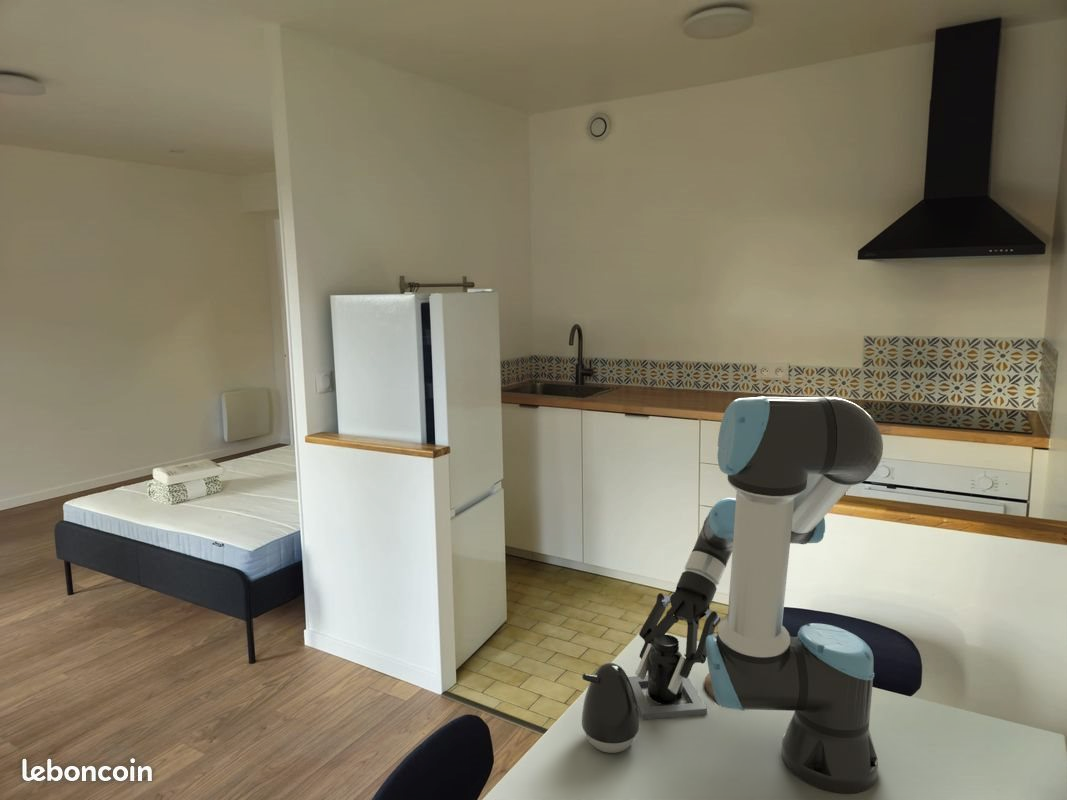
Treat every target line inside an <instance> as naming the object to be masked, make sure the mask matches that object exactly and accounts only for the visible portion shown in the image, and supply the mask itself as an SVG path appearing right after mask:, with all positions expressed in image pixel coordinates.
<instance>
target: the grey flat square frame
mask: <svg viewBox="0 0 1067 800" xmlns="http://www.w3.org/2000/svg"><path fill="white" fill-rule="evenodd" d="M628 678H629V681H630V683H631V686H632V688H633V691H634V694H635V698H636V702H637V708H638V714H639V715H640V718H641V719H642V721H644V720H646V721H647V720H653V719H654V720H655V719H656V720H657V719H666V718H669V719H670V718H677V717H690V716H702V715H704V716H705V715H708V708H707V706H706V704H705V703H704V701H703V700H702V698H701V696H700V695H699V693H698V691H697V690H696V688H695V686H694V684H693V683H692V682H691V680H690V678H689V676H688V677H687V678H684V677H683V689H682V693H683V694H684V696H685V697H686V699H687V700H688V702H689V703H681V704H679V703H677V704H673V705H656V706H651V705H650V704H649V702H648V700H647V697H646V695H645V694H644V691H643V689H642V687H643V688H644V687H648V674H646V676H645V678H644V680H642V679H640V678H639V677H638V676H637V675H635V676H628Z"/></svg>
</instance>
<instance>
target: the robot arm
mask: <svg viewBox="0 0 1067 800" xmlns="http://www.w3.org/2000/svg"><path fill="white" fill-rule="evenodd" d="M719 427H720V428H719V432H718V439H717V447H718V448H717V449H718V450H717V461H718V462H717V463H718V467H719V470H720V471H721V472H722V473H723V474H726V475H727V482H728V484H729V485H730V486H731V487H732V488H733V489H734V490H735V491H736V496H735V497H736V498H735V497H726V498H722V499H720V500H718V501H717V502H716V503H715V504H714V505H713V506H712V507H711V509H710V511H709V512H708V514H707V516H706V517H705V520H704V521H703V522H704V523H702V524H703V525H702V528H700V532H699V535H698V537H697V539H696V542H695V544H694V547H693V549H692V551H691V553H690V555H689V557H688V559H687V562H686V563H685V566H684V571H682V572H681V575H680V577H679V578H678V579H679V580H678V582H677V584H676V588H675V591H674V592H673V593H672V594H671V595H664V594H663V593H661V592H660V593H658V594H657V596H656V602H655V604H654V605H653V608H652V609H651V611H650V613H649V615H648V617H647V618H646V621H645V622H644V624H643V625H642V627H641V629H640V631H639V632H638V633H639V634H638V635H639V637H641V638H642V639H643V641H644V644H643V646H642V648H641V651H640V653H639V658H640V662H639V664H638V666H637V669H636V670H635V673H634V674H635V676H638V677H639V678H640V679H642V680H644V678H645V676H646V675H648V657H649V653H650V652H651V650H652V649H654V648H653V645H654V638H655V637H656V636H658V635H663V634H664V635H666V633H668V632H669V630H670V629H671V628H672V627H673V626H674V625H675V624H676V623H678V622H679V621H683V622H684V621H685V622H686V624H687V627H686V628H687V630H686V631H687V632H686V644H685V645H686V646H685V647H686V648H685V653H683V654H684V656H683V655H682V656H683V657H682V656H681V658H680V660H679V662H678V665H677V667H676V669H675V672H674V674H673V677H672V679H671V681H670V684H669V686H668V689H669V690H670V691H671V692H672V693H674V694H677V692H678V689H679V687H680V684H681V682H682V680H683V677H684V678H687V677H688V678H689V676H690V674H691V671H692V668H693V666H694V664H696V663H700V664H705V663H706V660H707V665H708V667H707V668H708V671H709V672H708V673H709V674H710V679H711V684H712V688H713V693H714V696H715V699H714V700H715V701H716V702H717V704H718V705H719V706H721V707H722V708H725V709H731V710H733V709H734V710H740V711H746V710H757V711H758V710H760V711H761V710H763V711H765V710H766V711H789V712H791V711H793V715H792V717H791V719H790V721H789V724H788V726H787V728H786V730H785V732H784V733H783V736H782V741H781V756H782V760H783V762H784V763H785V765H786V766H787V768H788V769H789V770H790V771H791V772H792V773H793V774H794V775H795V776H797V777H798V778H799V779H801V780H803V782H805V783H807V784H810V785H812V786H815V787H816V788H820V789H822V790H825V791H829V792H835V793H839V794H840V793H842V794H852V793H859V792H860V793H861V792H864V791H865V790H868V789H869V788H871V787H872V786H874V784H875V783H876V781H877V779H878V771H879V761H878V756H877V752H876V749H875V746H874V742H873V738H872V735H871V731H870V720H871V719H870V717H871V707H872V704H871V703H872V693H873V684H874V683H873V682H874V679H875V672H874V655H873V651H872V649H871V648H870V646H869V645H868V644H867V643H866V642H865V640H863V639H862V638H860V637H859V636H858V635H856V634H854V633H853V632H850V631H848V630H846V629H843V628H841V627H838V626H835V625H831V624H826V623H820V622H819V623H818V622H815V623H814V622H812V623H811V622H810V623H806V624H805V625H804V624H803V625H802V626H800V628H799V631H798V632H797V636H791V635H790V632H789V631H788V630H787V629H786V627H785V626H784V625H783V619H784V608H785V599H786V598H785V597H786V588H787V579H788V578H787V577H788V569H789V558H790V549H791V544H795V545H796V544H797V545H807V544H818V543H820V542H821V541H822V540H823V539H824V536H825V535H824V534H825V532H826V522H825V521H826V520H825V517H826V515H827V514H828V513H829V512H830V511H831V510H832V508H834V506H835V505H836V504H837V503H838V502H839V501H840V500H841V498H842V497H843V496H844V495H845V494H846V493H847V492H848V491H849V489H850V488H851V487H852V486H856V485H859V484H862V483H863V482H865V481H866V480H868V479H869V478H870V477H871V476H872V475H873V473H875V471H876V470H877V468H878V467H879V464H880V463H881V460H882V457H883V450H884V441H883V436H882V434H881V433H882V432H881V431H880V428H879V426H878V424H877V423H876V421H875V420H874V418H873V417H872V416H871V415H870V414H869V413H868V412H867V411H866V409H865V410H864V408H862V407H861V406H860V405H857V404H856V403H854V402H852V401H850V400H847V399H843V398H840V397H835V396H821V397H820V396H819V397H814V396H812V397H810V396H808V397H807V396H804V397H801V396H798V397H796V396H795V397H794V396H793V397H792V396H791V397H788V396H782V397H781V396H764V395H760V396H757V397H755V396H754V397H740V398H736V399H734V400H733V401H731V402H730V403H729V405H728V406H727V407H726V409H725V411H724V413H723V416H722V419H721V423H720V426H719ZM730 557H731V565H730V568H731V569H730V579H729V580H730V581H729V582H730V583H729V592H728V593H729V594H728V595H729V597H728V607H727V610H728V611H727V615H726V616H724V617H723V618H721V617H720V616H719V614H718V613H717V611H715V610H713V611H712V610H710V605H711V603H712V602H713V600H714V597H715V594H716V591H717V590H718V589H717V586H719V584H720V582H721V580H722V577H723V575H724V573H725V570H726V569H727V564H728V562H729V561H730ZM669 604H670V606H671V607H670V608H669V609H668V610H667V611H666V609H667V607H669ZM665 611H666V613H665ZM664 613H665V615H664V617H663V614H664ZM662 617H663V618H662ZM661 618H662V619H661ZM703 618H705V621H704V625H703V628H702V632H701V634H700V638H699V642H698V633H699V632H698V631H699V629H700V620H701V619H703ZM716 628H717V629H716ZM715 630H716V631H717V633H716V634H715Z"/></svg>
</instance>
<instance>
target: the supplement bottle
mask: <svg viewBox="0 0 1067 800" xmlns="http://www.w3.org/2000/svg"><path fill="white" fill-rule="evenodd" d="M679 643H680V641H679V639H678V638H677V637H676V636H674V635H671V634H665V635H664V634H663V635H658V636H656V637H655V638H654V645H653V648H654V649H652V650H651V652H650V653H649V657H648V671H647V675H648V686H647V695H648V698H649V699H650V700H651V701H652V702H654V703H655V704H656V703H657V704H659V705H661V706H666V705H677V704H679V702H680V701H681V700H682V698H683V690H682V689H683V680H682V682H681V684H680V687H679V689H678V692H677V694H674V693H672V692H671V691H670V690H669V689H668V686H669V684H670V681H671V679H672V677H673V674H674V672H675V669H676V667H677V665H678V662H679V660H680V658H681V656H682V657H684V656H683V655H682V653H681V652H680V651H679V649H680V645H679Z"/></svg>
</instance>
